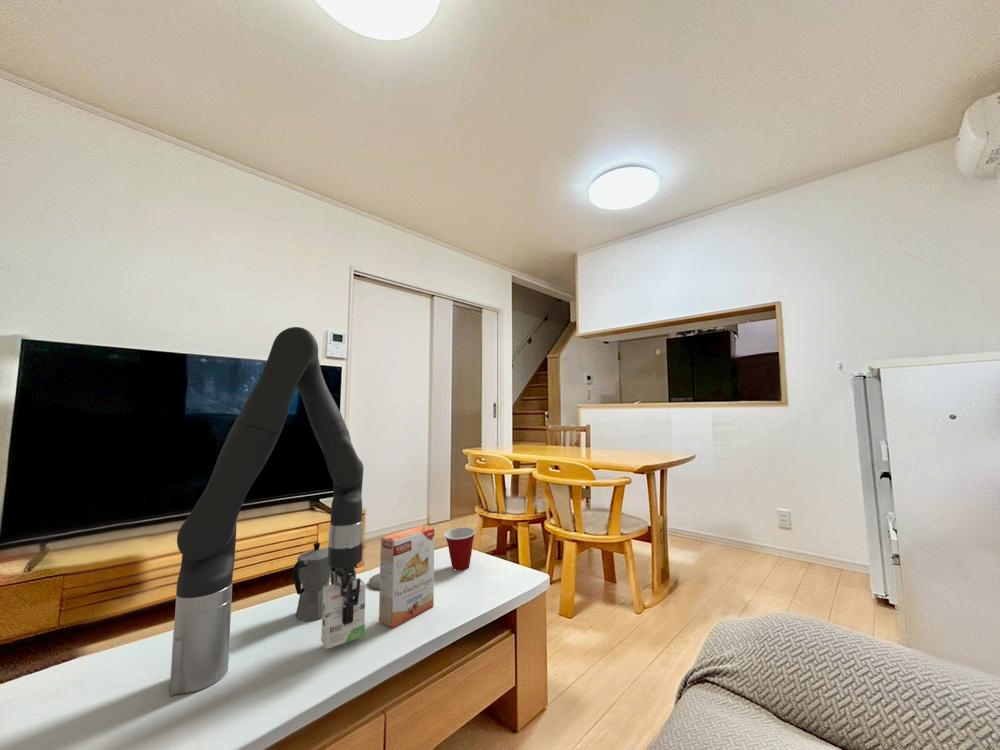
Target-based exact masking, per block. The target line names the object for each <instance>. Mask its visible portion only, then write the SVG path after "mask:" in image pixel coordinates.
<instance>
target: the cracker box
mask: <svg viewBox="0 0 1000 750" xmlns="http://www.w3.org/2000/svg"><path fill="white" fill-rule="evenodd" d="M379 558H380V562H379V573H380V590H379V602H378V603H379V605H378V606H379V607H378V610H379V611H378V612H379V613H378V623H382V624H383V625H385V626H386V627H389V628H391V629H393V628H396V627H397V626H399V625H401V624H403V623H404V622H406V621H408V620H411V619H413V618H414V617H416V616H418V615H420V614H422V613H423V612H425V611H427V610H429V609H431V608H433V607H434V603H435V601H434V595H435V594H434V591H435V588H434V585H435V584H434V582H435V581H434V580H435V576H434V575H435V528H434V527H430V526H425V525H418V526H415V527H411V528H409V529H404V530H401V531H398V532H394V533H391V534H388V535H385V536H381V537H380V557H379Z"/></svg>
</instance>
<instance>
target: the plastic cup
mask: <svg viewBox="0 0 1000 750" xmlns="http://www.w3.org/2000/svg"><path fill="white" fill-rule="evenodd" d="M443 534H444V537H445V540H446V542H447V546H448V553H449V558H450V561H451V562H450V563H451V567H453V568H452V569H453V570H454V569H456V570H455V571H457V570H462V571H465V570H464V569H466V570H468V569H469V568H470V564H471V557H472V553H473V544H474V538H475V534H476V529H475V528H473V527H468V526H467V527H466V526H462V527H461V526H460V527H455V528H450V529H449V530H447V531H445V532H444V533H443ZM467 568H468V569H467Z"/></svg>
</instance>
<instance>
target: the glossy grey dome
mask: <svg viewBox="0 0 1000 750" xmlns="http://www.w3.org/2000/svg"><path fill="white" fill-rule="evenodd" d="M368 586H369V588H371V587H372V588H374V589H373V590H376V589H380V572H379V573H377V574H375V575H373V576H371V577H370V578H369V579H368ZM372 588H371V589H372Z"/></svg>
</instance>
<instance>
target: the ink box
mask: <svg viewBox="0 0 1000 750" xmlns="http://www.w3.org/2000/svg"><path fill="white" fill-rule="evenodd" d="M343 591H344V592H346V591H347V588H346V589H343ZM350 600H351V598H350ZM342 604H343V603H342V597H341V596H340V589H339V585H338V584H337V585H334V584H333V585H331V584H330V585H329V586H325V587H323V603H322V618H321V636H320V641H321V643H322V644H323V647H324V649H325V650H327V649H332V648H334V647H336V646H339V645H343V644H346V643H349V642H352V641H355V640H357V639H360V638H362V637H364V636H365V624H366V623H365V620H366V619H365V615H366V583H365V582H364V581H363V580H362V579H361V578H360V590H359V599H358V604H357V605H354V606H353V622H352V623H349V624H346V625H344V624H343V623H342V611H343V606H342Z"/></svg>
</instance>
